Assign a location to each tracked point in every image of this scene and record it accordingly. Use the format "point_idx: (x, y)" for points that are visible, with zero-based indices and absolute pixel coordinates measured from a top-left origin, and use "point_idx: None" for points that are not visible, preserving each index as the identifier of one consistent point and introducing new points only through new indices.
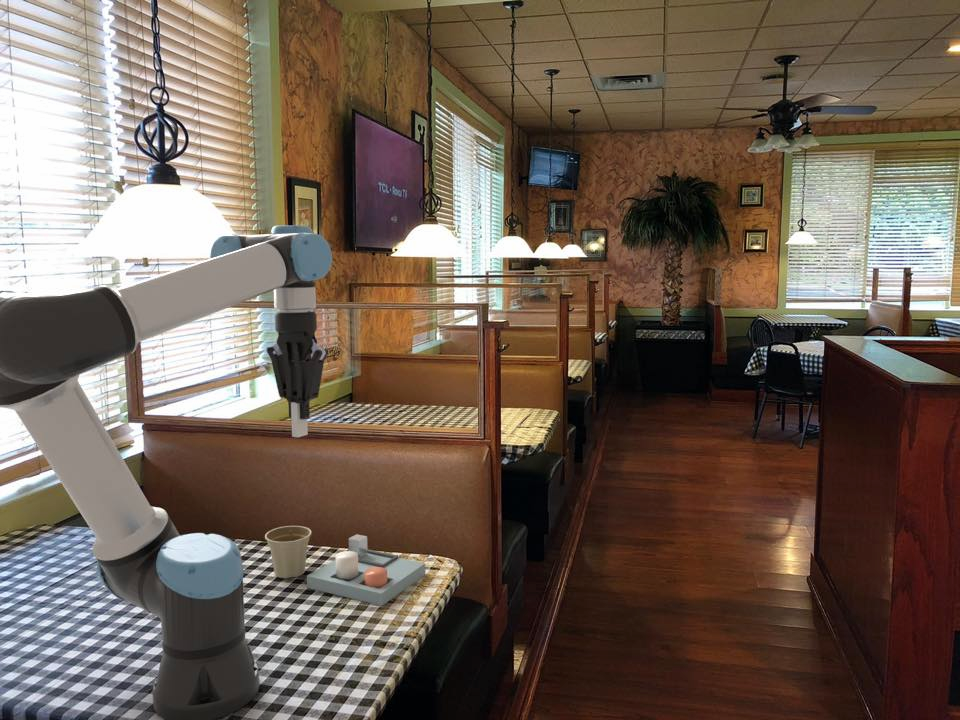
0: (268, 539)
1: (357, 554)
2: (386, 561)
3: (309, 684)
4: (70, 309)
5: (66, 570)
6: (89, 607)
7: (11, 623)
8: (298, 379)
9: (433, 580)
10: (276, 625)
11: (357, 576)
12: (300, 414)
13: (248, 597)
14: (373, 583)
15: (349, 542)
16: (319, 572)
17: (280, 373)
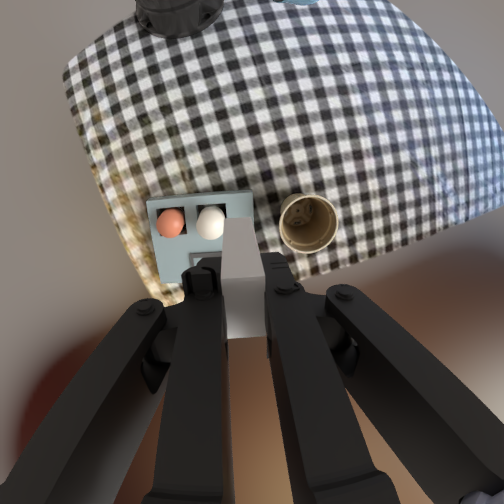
0: (320, 197)
1: (200, 235)
2: None
3: (114, 58)
4: None
5: (470, 127)
6: (406, 69)
7: (426, 35)
8: (198, 391)
9: (148, 270)
10: (215, 106)
11: None
12: (220, 266)
13: (293, 139)
14: (164, 211)
15: None
16: (245, 207)
17: (408, 395)
